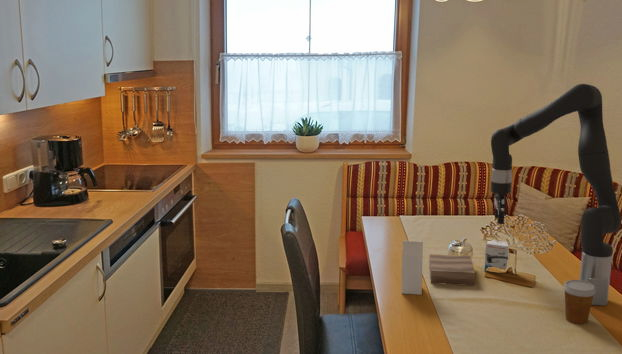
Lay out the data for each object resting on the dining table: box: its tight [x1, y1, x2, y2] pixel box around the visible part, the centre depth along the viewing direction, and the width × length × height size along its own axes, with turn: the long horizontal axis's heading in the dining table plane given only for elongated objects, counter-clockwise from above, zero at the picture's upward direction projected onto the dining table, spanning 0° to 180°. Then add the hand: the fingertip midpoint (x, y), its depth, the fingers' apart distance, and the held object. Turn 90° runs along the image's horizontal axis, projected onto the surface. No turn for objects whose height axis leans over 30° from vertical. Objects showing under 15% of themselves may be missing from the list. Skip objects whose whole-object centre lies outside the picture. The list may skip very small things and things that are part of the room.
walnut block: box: [429, 254, 476, 286], centre depth 221 cm, size 18×16×5 cm
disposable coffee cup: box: [562, 279, 596, 325], centre depth 182 cm, size 10×10×12 cm
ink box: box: [484, 239, 508, 271], centre depth 224 cm, size 8×5×12 cm, turn 62°
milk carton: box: [401, 240, 424, 296], centre depth 206 cm, size 7×7×19 cm
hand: (499, 220), depth 221 cm, fingers open, 8 cm apart
